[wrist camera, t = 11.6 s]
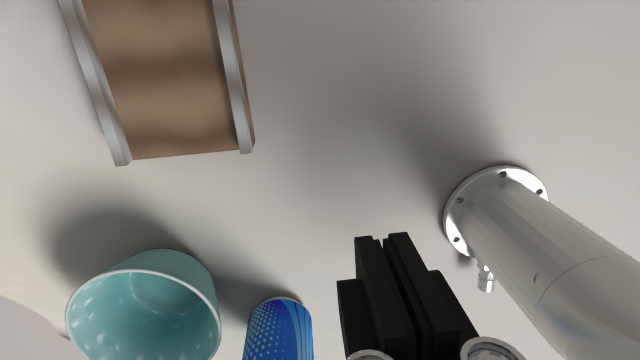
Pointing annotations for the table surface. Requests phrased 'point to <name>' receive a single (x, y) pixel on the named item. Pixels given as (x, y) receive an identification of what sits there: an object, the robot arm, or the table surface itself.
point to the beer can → (279, 331)
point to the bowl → (147, 310)
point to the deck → (163, 75)
